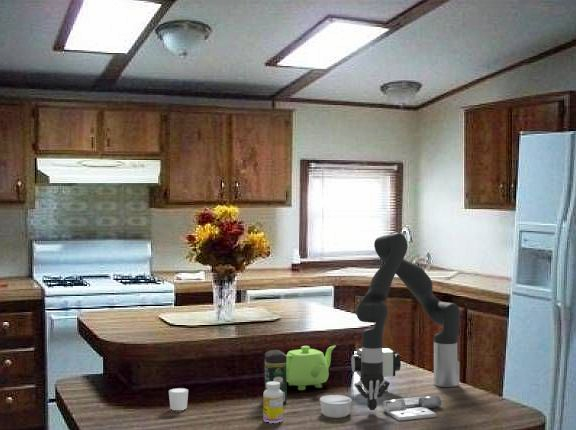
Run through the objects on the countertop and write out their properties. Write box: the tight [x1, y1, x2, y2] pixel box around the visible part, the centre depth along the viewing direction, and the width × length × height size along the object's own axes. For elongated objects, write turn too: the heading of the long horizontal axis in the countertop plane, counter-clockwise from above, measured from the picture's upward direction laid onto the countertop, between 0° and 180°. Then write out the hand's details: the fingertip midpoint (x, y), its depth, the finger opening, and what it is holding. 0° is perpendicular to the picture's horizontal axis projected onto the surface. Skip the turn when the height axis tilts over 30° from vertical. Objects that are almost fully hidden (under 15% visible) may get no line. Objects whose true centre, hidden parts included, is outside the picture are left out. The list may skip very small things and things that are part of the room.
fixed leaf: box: [391, 395, 442, 409], centre depth 255 cm, size 15×12×4 cm
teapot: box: [285, 345, 337, 391], centre depth 282 cm, size 25×22×16 cm
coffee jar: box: [264, 349, 288, 404], centre depth 261 cm, size 10×8×19 cm
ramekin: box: [319, 394, 353, 419], centre depth 245 cm, size 11×11×5 cm
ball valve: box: [351, 347, 402, 392], centre depth 275 cm, size 18×8×18 cm, turn 97°
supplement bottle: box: [262, 381, 284, 424], centre depth 237 cm, size 7×7×13 cm
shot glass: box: [168, 387, 189, 410], centre depth 250 cm, size 7×7×7 cm
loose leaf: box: [382, 398, 437, 422], centre depth 245 cm, size 14×12×4 cm
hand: (371, 409), depth 245 cm, fingers closed
